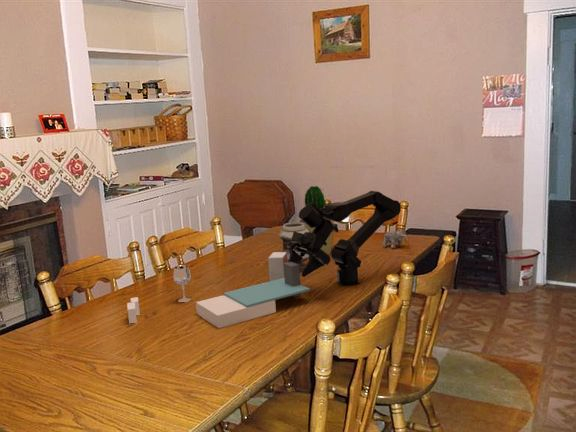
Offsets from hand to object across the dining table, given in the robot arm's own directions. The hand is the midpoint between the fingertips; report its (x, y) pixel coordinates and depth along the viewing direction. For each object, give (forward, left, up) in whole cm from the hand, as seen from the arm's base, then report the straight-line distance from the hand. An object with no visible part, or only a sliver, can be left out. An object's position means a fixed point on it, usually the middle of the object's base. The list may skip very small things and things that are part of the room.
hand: (294, 273), depth 196 cm
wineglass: (+37, -12, -8) cm, 40 cm away
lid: (+11, +4, -7) cm, 13 cm away
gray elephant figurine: (-56, -47, -9) cm, 74 cm away
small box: (+2, -19, -8) cm, 21 cm away
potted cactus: (-22, -53, -8) cm, 58 cm away
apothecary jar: (-8, -34, -8) cm, 36 cm away
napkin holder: (+53, -1, -9) cm, 54 cm away
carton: (+22, +8, -8) cm, 24 cm away
